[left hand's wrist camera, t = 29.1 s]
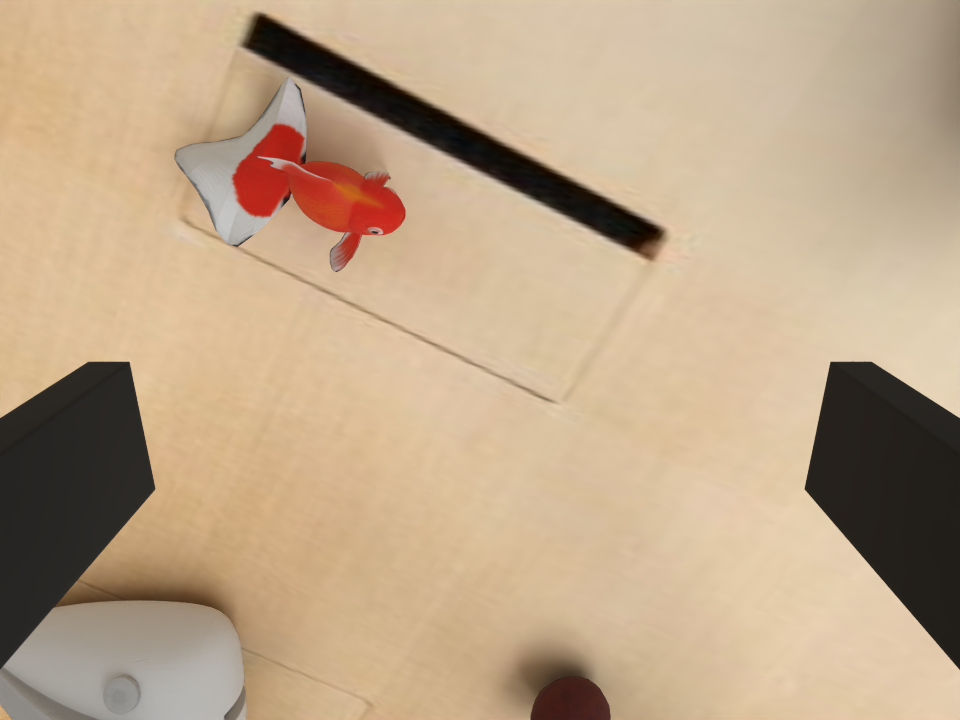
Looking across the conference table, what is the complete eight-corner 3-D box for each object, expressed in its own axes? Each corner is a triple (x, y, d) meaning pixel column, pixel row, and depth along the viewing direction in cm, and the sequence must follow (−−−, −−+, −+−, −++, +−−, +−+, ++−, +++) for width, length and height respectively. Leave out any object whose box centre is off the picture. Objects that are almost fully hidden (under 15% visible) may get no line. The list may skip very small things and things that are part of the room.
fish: (350, 337, 46) (287, 299, 36) (200, 217, 49) (105, 153, 40) (445, 217, 46) (407, 147, 36) (288, 106, 50) (216, 17, 40)
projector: (117, 505, 56) (0, 632, 42) (319, 654, 62) (273, 808, 48) (-20, 645, 61) (-163, 797, 48) (177, 769, 67) (100, 937, 54)
